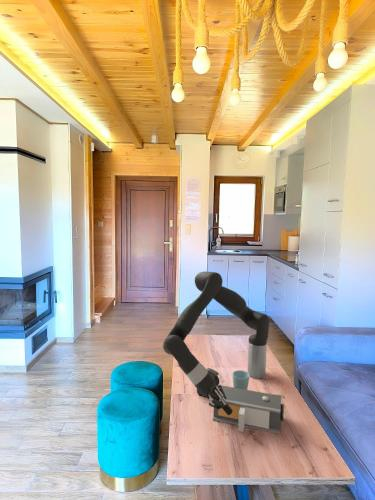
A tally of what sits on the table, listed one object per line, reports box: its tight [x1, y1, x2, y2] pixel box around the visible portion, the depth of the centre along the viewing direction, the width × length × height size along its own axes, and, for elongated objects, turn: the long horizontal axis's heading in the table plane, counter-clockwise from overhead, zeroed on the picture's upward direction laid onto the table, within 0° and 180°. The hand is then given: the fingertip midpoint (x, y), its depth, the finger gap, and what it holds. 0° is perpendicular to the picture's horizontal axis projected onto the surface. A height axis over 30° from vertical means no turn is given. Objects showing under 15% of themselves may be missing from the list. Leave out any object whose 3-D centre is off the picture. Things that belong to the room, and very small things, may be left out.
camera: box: [196, 367, 220, 398], centre depth 150 cm, size 13×10×10 cm
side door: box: [237, 406, 270, 433], centre depth 121 cm, size 6×11×7 cm, turn 72°
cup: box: [232, 369, 250, 390], centre depth 145 cm, size 8×8×10 cm
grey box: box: [212, 384, 285, 435], centre depth 129 cm, size 11×27×10 cm, turn 72°
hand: (230, 413), depth 121 cm, fingers closed
